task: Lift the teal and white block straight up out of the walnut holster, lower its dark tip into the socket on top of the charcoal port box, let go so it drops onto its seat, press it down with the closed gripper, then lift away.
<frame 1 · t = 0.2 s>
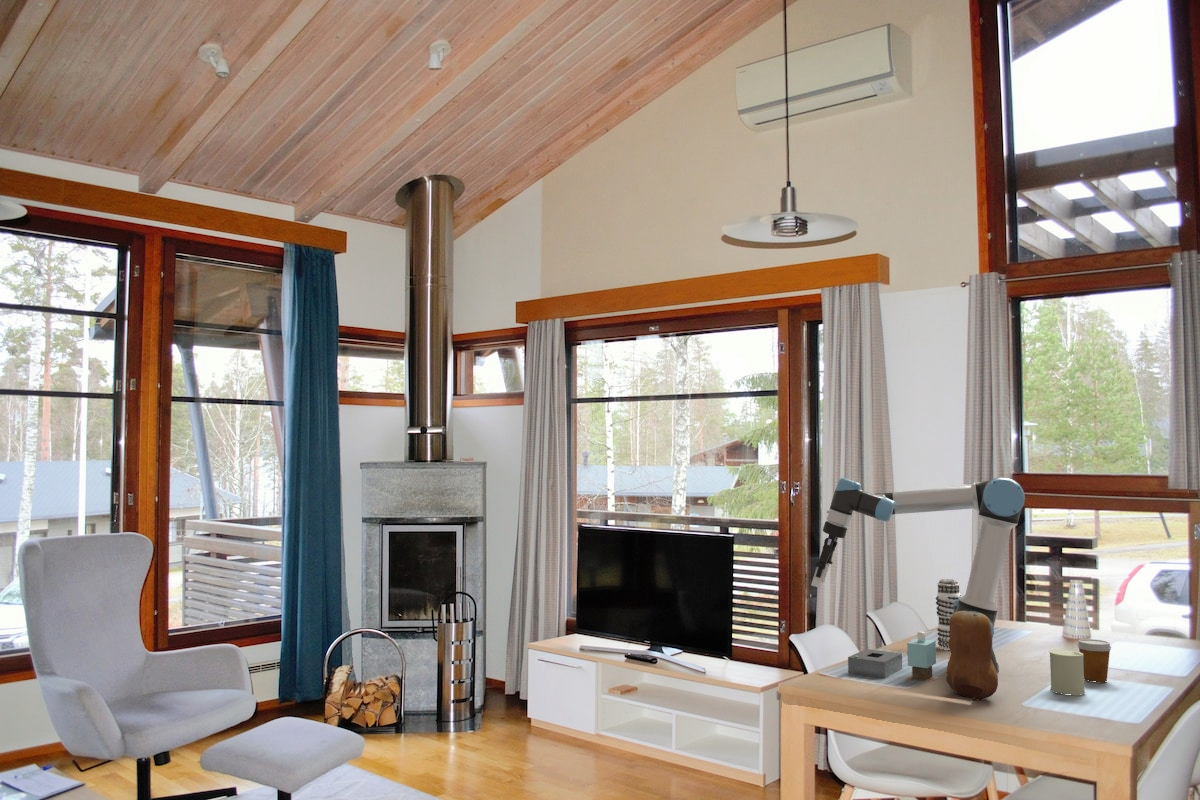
hand: (817, 583, 309), 28 cm above the table, tool tilted 20°, fingers open, 13 cm apart
disposable coffee cup: (1095, 681, 288), on the table
butternut squash: (972, 699, 267), on the table
port: (875, 674, 297), on the table
can: (1067, 692, 274), on the table
decorative candle: (950, 649, 338), on the table
holster: (922, 680, 288), on the table
teal and white block: (922, 677, 288), point 1 cm above the table, touching holster
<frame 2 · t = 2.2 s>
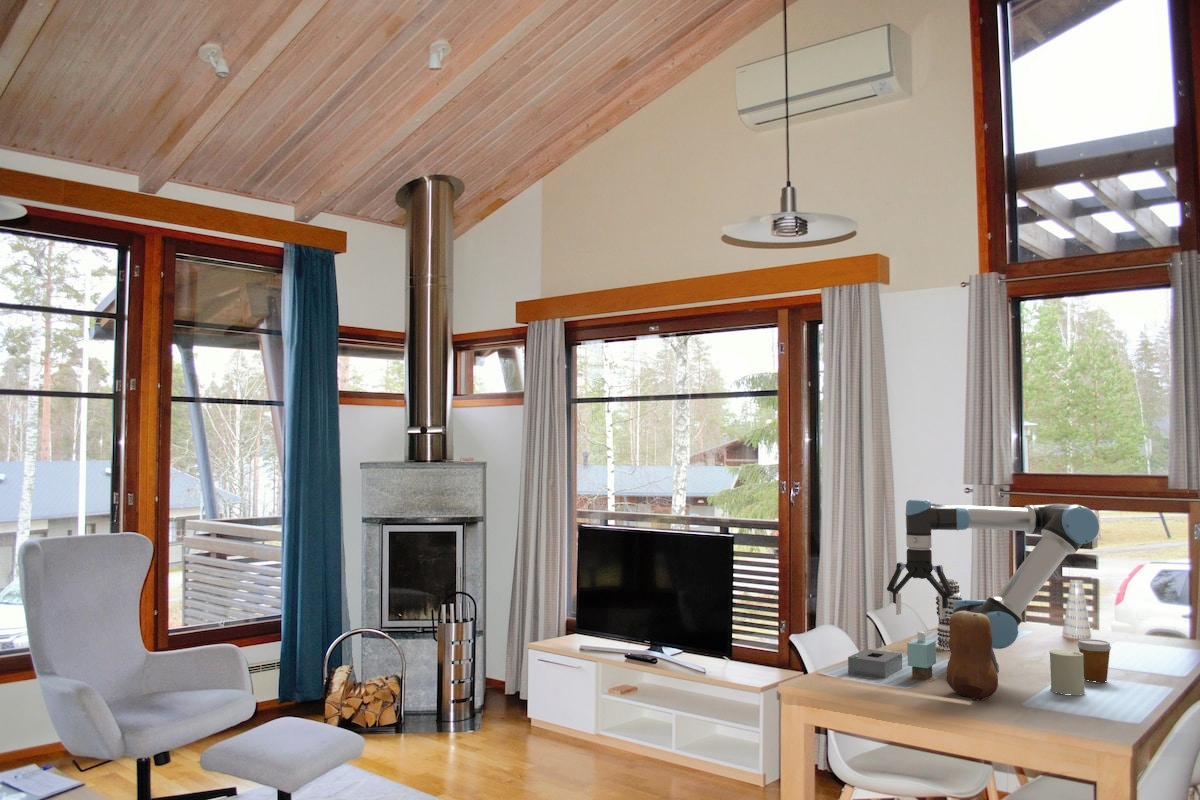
hand: (920, 616, 289), 20 cm above the table, tool pointing down, fingers open, 13 cm apart
nothing on the table moved.
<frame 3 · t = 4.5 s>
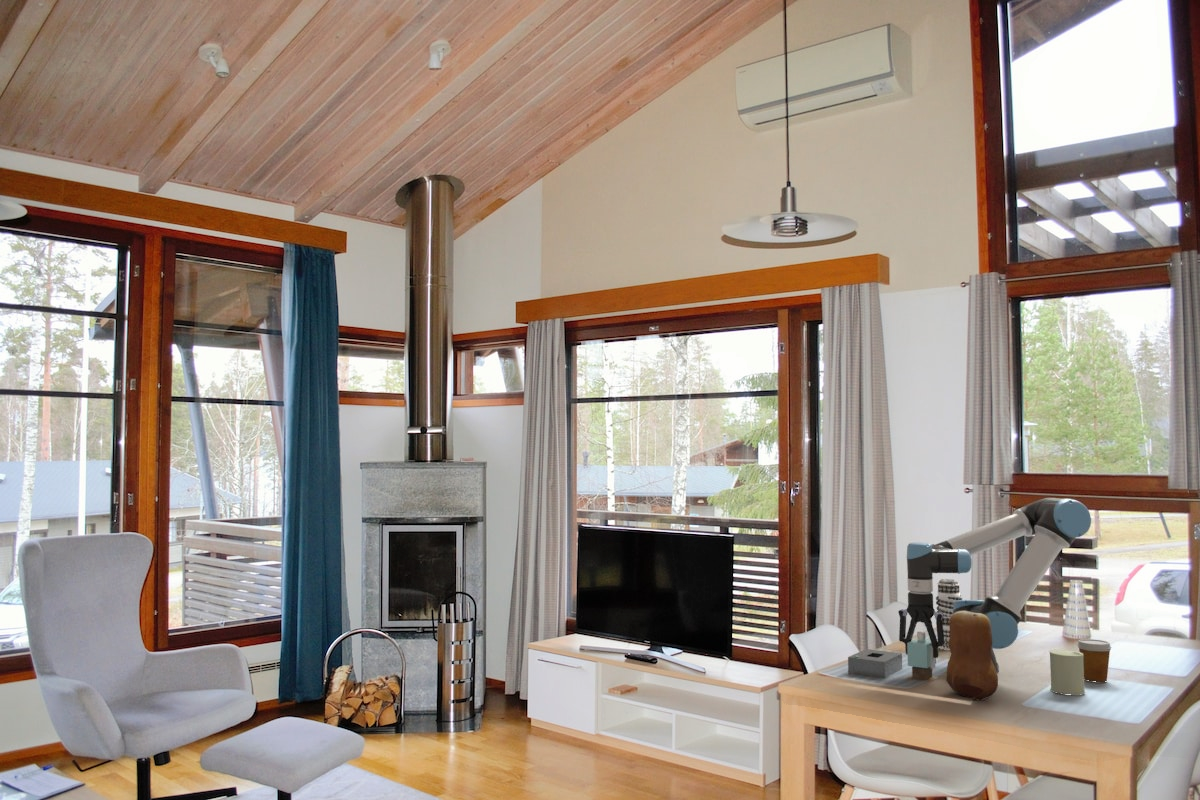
hand: (922, 666, 288), 4 cm above the table, tool pointing down, fingers closed on teal and white block, 6 cm apart
teal and white block: (922, 677, 288), point 1 cm above the table, touching gripper, holster
everything else where it was.
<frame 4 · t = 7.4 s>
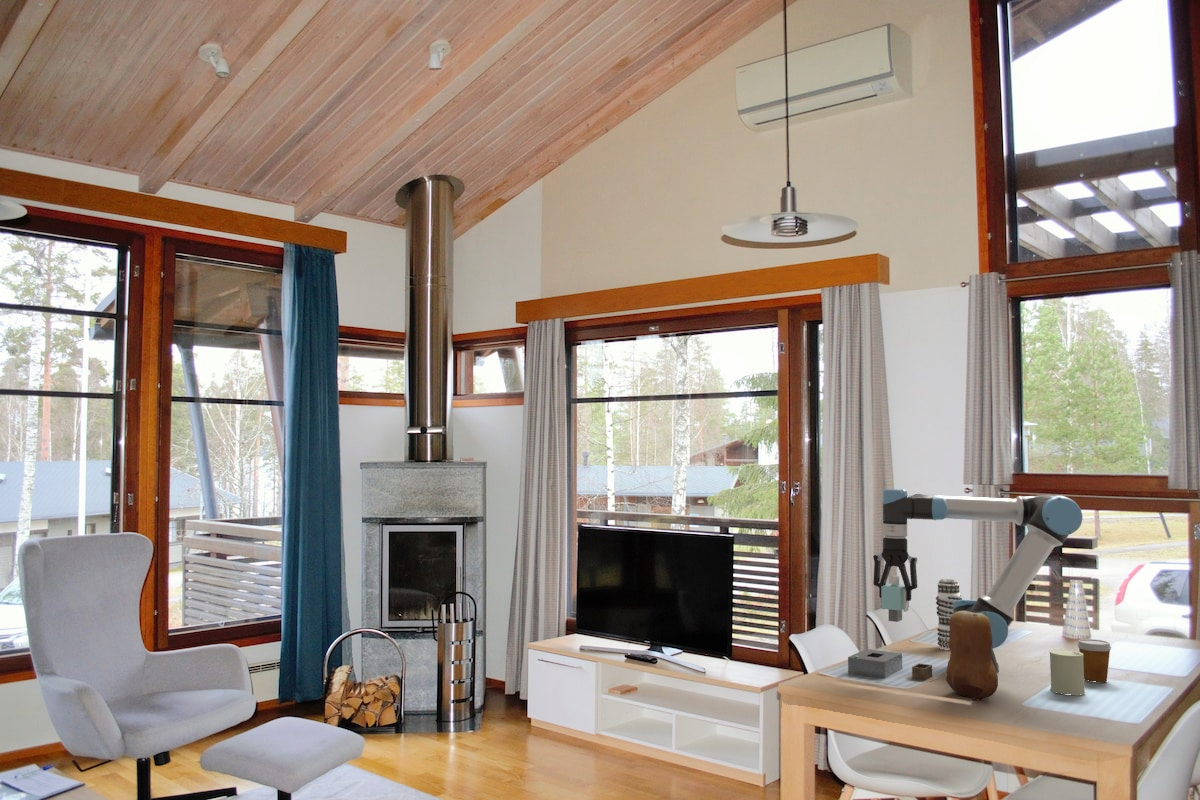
hand: (895, 609, 294), 21 cm above the table, tool pointing down, fingers closed on teal and white block, 6 cm apart
teal and white block: (895, 620, 294), point 18 cm above the table, touching gripper
everything else where it was.
when the fingers open (7 cm above the table, at t = 10.5 s): teal and white block drops 1 cm, resting on port.
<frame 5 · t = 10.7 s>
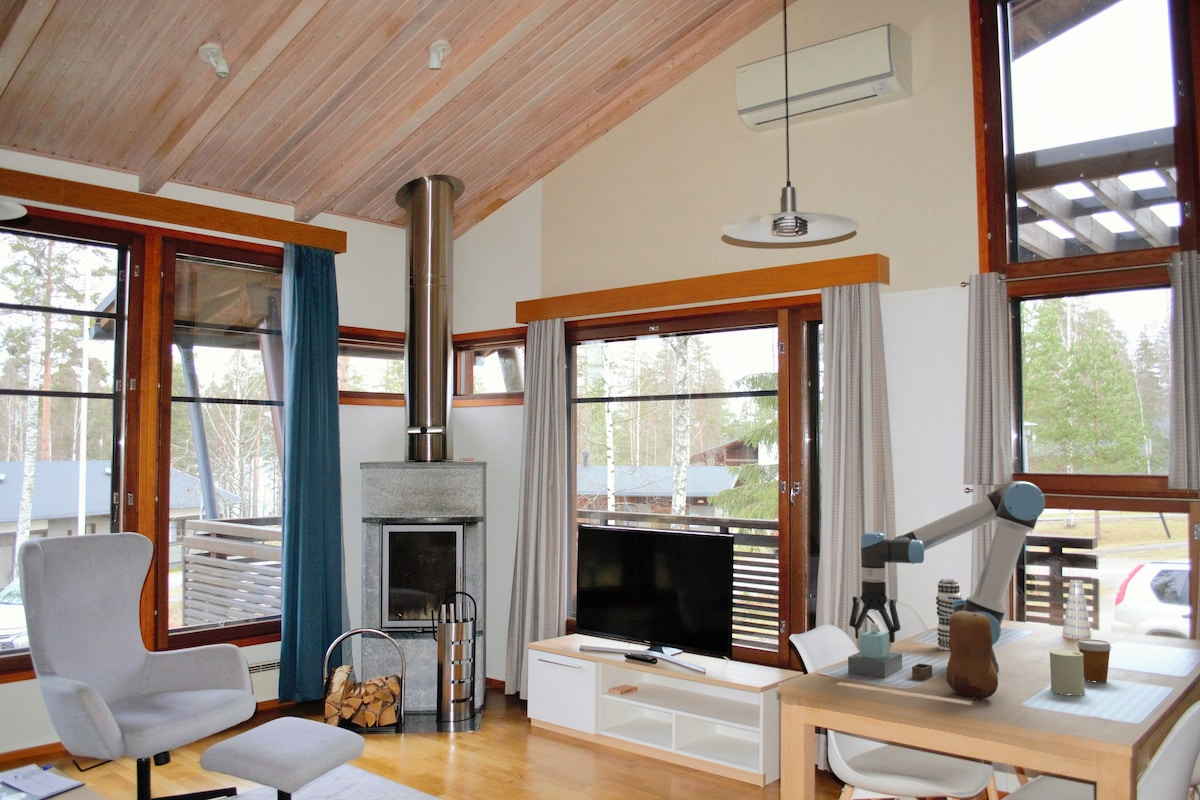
hand: (875, 650, 298), 7 cm above the table, tool pointing down, fingers open, 9 cm apart
teal and white block: (875, 667, 297), point 2 cm above the table, touching port
everything else where it was.
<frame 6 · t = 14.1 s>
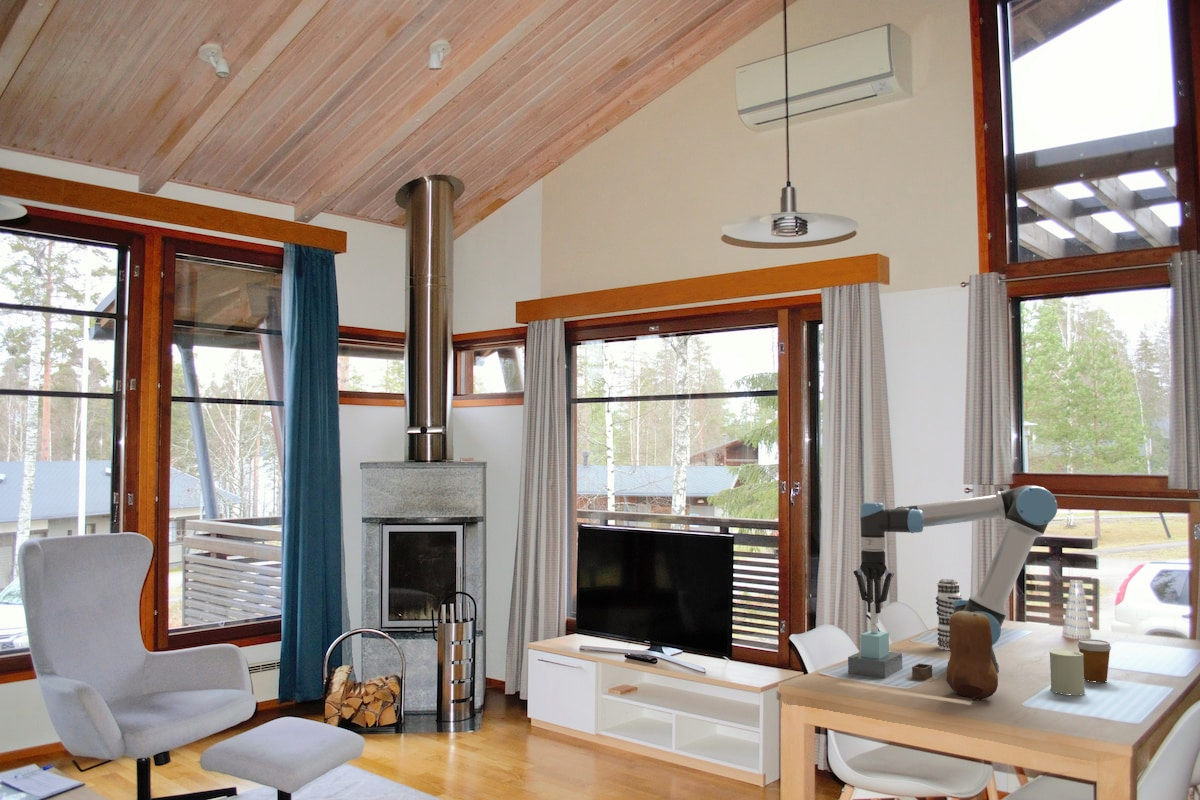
hand: (874, 623, 298), 16 cm above the table, tool pointing down, fingers closed
teal and white block: (875, 667, 297), point 2 cm above the table, touching gripper, port
everything else where it was.
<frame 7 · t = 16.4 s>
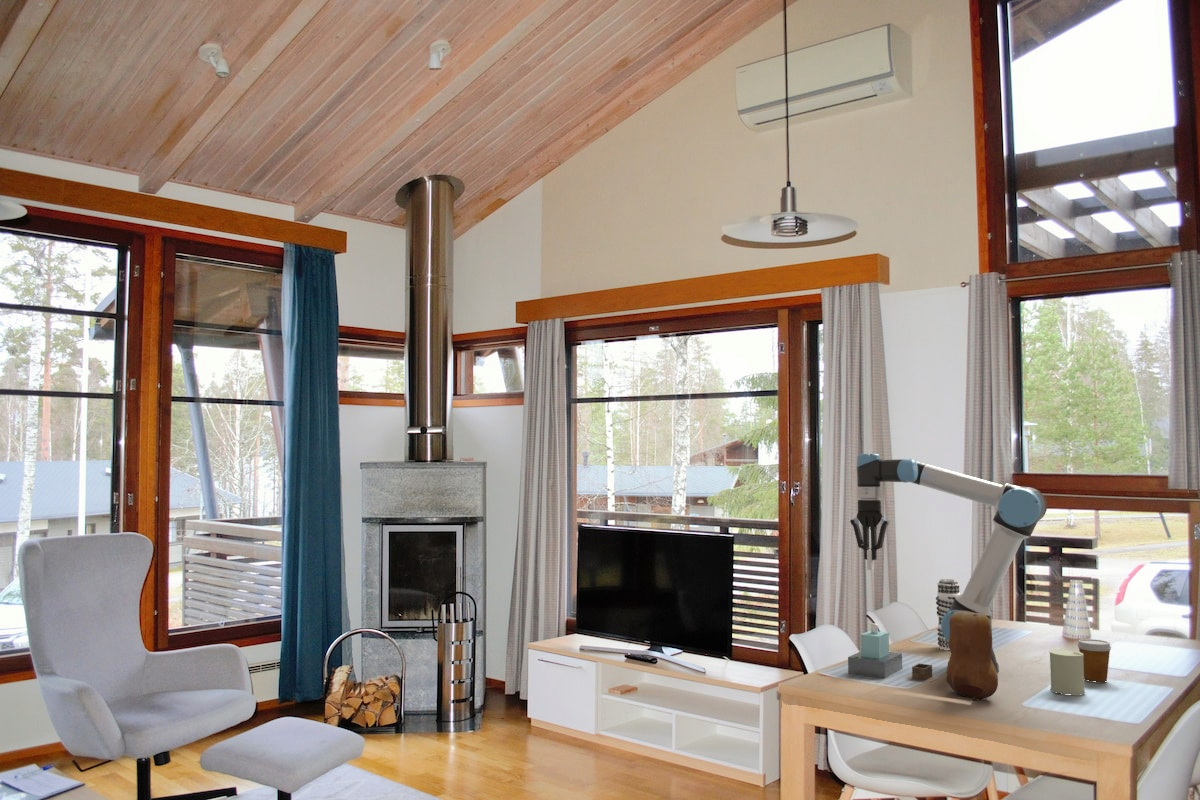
hand: (870, 569, 309), 32 cm above the table, tool pointing down, fingers closed
teal and white block: (875, 667, 297), point 2 cm above the table, touching port
everything else where it was.
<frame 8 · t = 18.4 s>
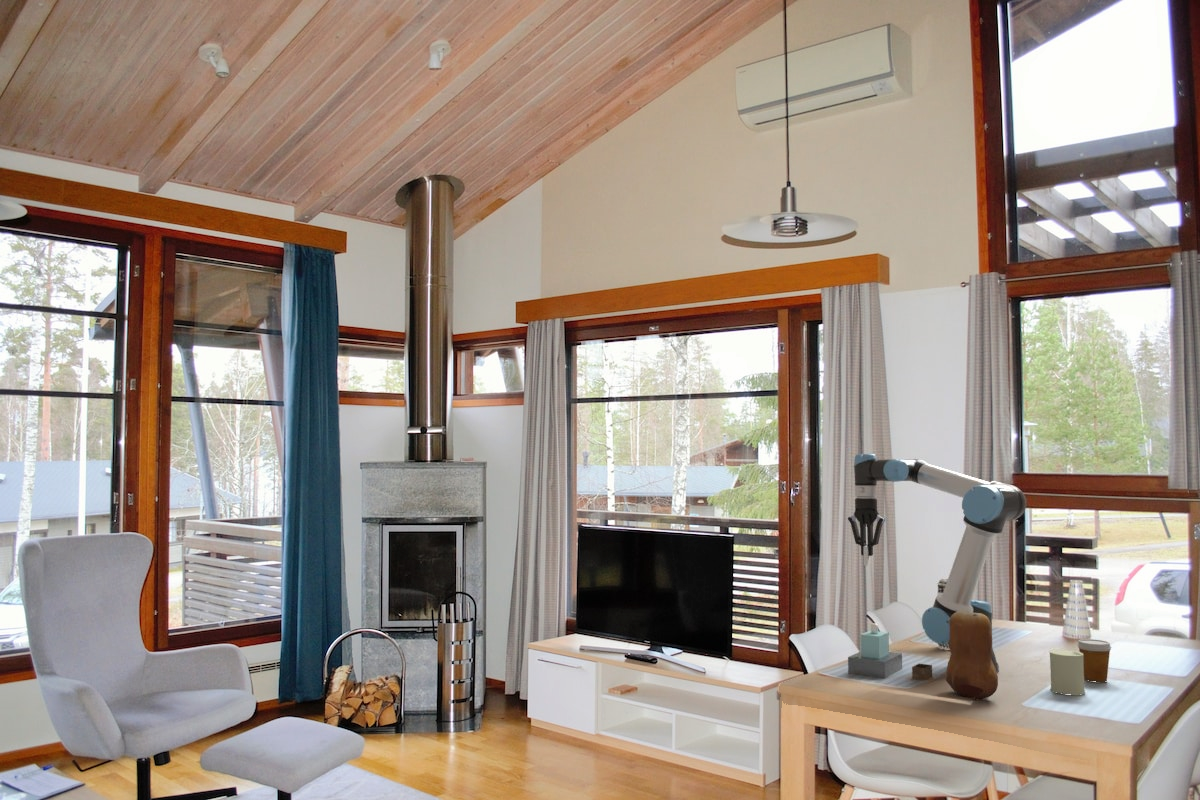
hand: (867, 565, 322), 32 cm above the table, tool pointing down, fingers closed
nothing on the table moved.
at the end: teal and white block 0.0 cm off-centre on the port, point 2.0 cm above the port's base; teal and white block tilted 0°; the gripper is holding nothing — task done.
